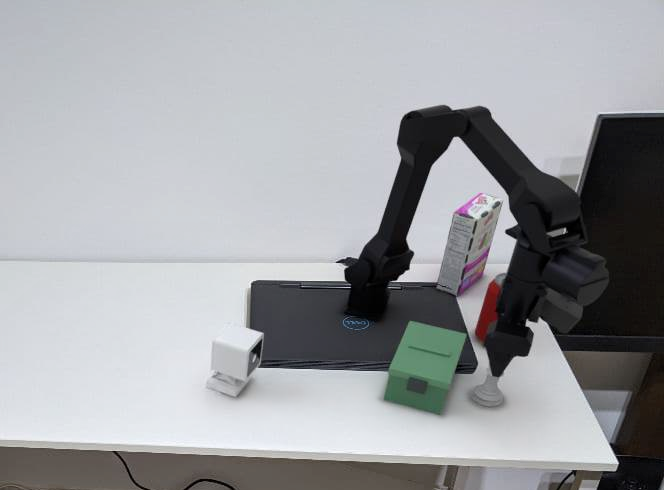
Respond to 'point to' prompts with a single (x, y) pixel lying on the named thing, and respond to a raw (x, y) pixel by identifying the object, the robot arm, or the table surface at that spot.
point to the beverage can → (489, 307)
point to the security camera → (234, 358)
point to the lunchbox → (424, 367)
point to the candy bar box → (469, 243)
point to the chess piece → (488, 391)
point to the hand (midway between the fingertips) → (500, 360)
